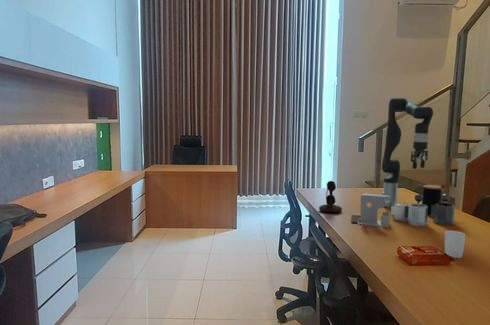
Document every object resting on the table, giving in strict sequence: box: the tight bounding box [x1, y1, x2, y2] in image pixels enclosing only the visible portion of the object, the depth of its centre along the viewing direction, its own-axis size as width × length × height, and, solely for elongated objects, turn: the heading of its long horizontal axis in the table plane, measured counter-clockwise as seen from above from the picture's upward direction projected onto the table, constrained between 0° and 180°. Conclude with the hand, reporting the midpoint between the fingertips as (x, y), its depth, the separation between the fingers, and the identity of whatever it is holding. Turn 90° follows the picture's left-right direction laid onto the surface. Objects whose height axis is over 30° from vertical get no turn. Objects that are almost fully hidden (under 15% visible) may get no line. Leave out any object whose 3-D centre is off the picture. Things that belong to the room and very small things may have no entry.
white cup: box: [444, 230, 467, 259], centre depth 156 cm, size 8×8×10 cm
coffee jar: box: [421, 184, 443, 216], centre depth 229 cm, size 11×11×18 cm
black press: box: [430, 193, 456, 226], centre depth 208 cm, size 12×9×17 cm
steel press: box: [404, 203, 428, 227], centre depth 206 cm, size 12×9×11 cm
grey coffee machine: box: [357, 193, 391, 228], centre depth 205 cm, size 17×10×18 cm, turn 68°
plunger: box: [414, 193, 423, 207], centre depth 204 cm, size 6×6×16 cm
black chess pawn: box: [318, 180, 343, 215], centre depth 233 cm, size 15×15×20 cm
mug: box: [390, 202, 409, 222], centre depth 216 cm, size 10×8×9 cm
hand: (418, 168), depth 210 cm, fingers open, 8 cm apart
